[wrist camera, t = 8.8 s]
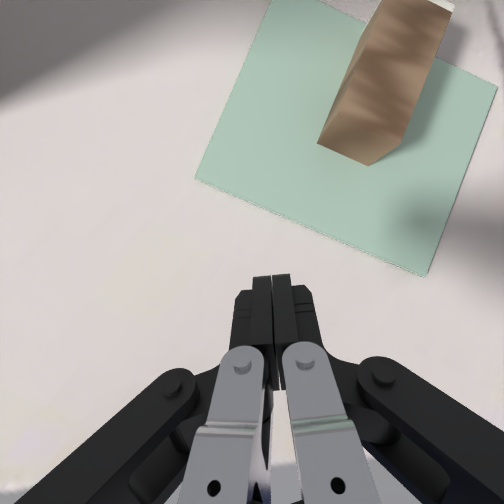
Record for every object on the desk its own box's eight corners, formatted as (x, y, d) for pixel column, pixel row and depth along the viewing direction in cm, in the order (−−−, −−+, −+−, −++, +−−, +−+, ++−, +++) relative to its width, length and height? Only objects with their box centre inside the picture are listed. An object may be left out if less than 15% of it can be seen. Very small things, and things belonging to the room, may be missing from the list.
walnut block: (337, 115, 21) (394, -25, 22) (316, 143, 26) (363, 29, 27) (400, 144, 21) (455, 5, 22) (367, 166, 26) (413, 52, 27)
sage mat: (194, 178, 26) (194, 177, 25) (278, -13, 27) (279, -19, 26) (421, 276, 27) (425, 276, 26) (492, 89, 28) (497, 86, 27)
